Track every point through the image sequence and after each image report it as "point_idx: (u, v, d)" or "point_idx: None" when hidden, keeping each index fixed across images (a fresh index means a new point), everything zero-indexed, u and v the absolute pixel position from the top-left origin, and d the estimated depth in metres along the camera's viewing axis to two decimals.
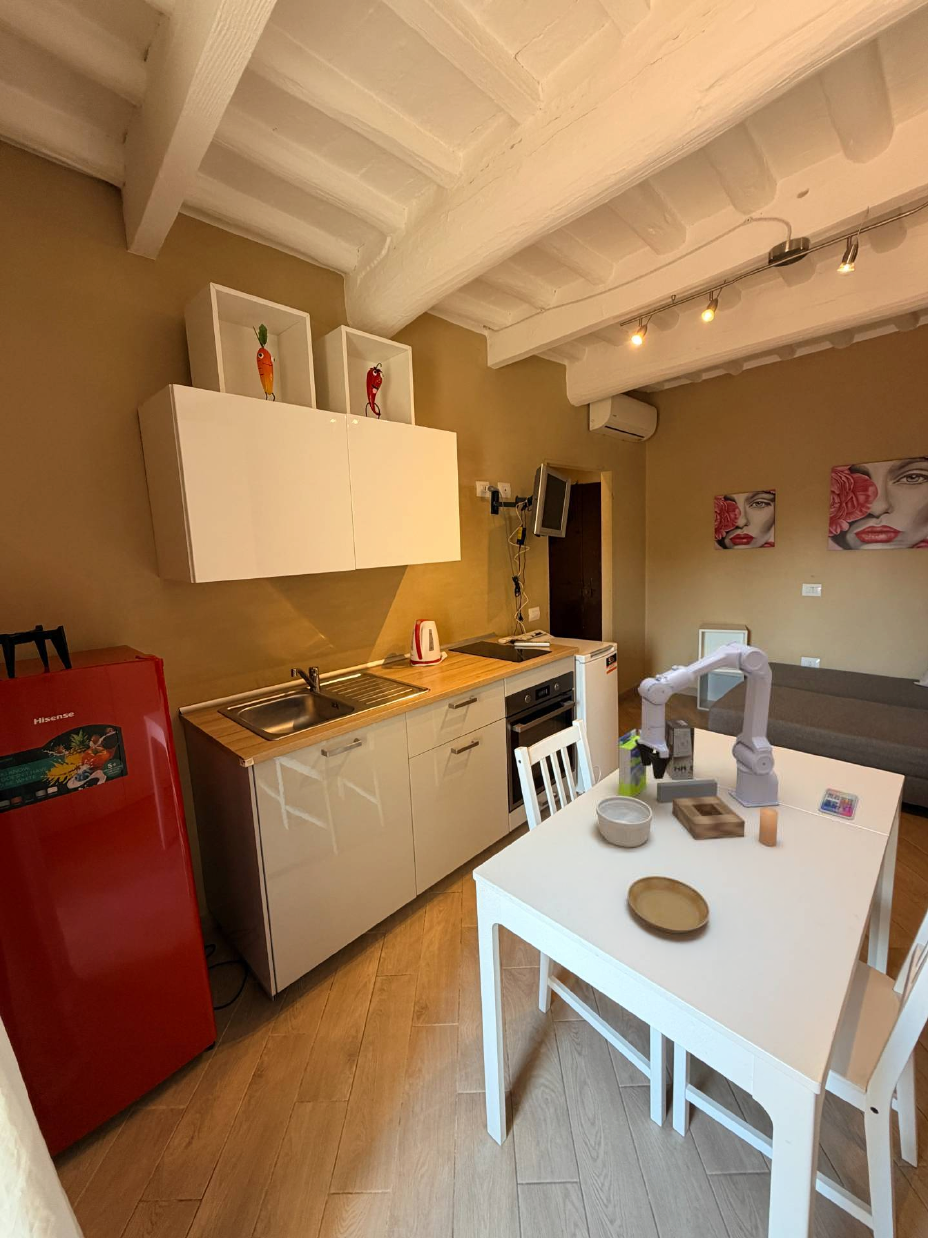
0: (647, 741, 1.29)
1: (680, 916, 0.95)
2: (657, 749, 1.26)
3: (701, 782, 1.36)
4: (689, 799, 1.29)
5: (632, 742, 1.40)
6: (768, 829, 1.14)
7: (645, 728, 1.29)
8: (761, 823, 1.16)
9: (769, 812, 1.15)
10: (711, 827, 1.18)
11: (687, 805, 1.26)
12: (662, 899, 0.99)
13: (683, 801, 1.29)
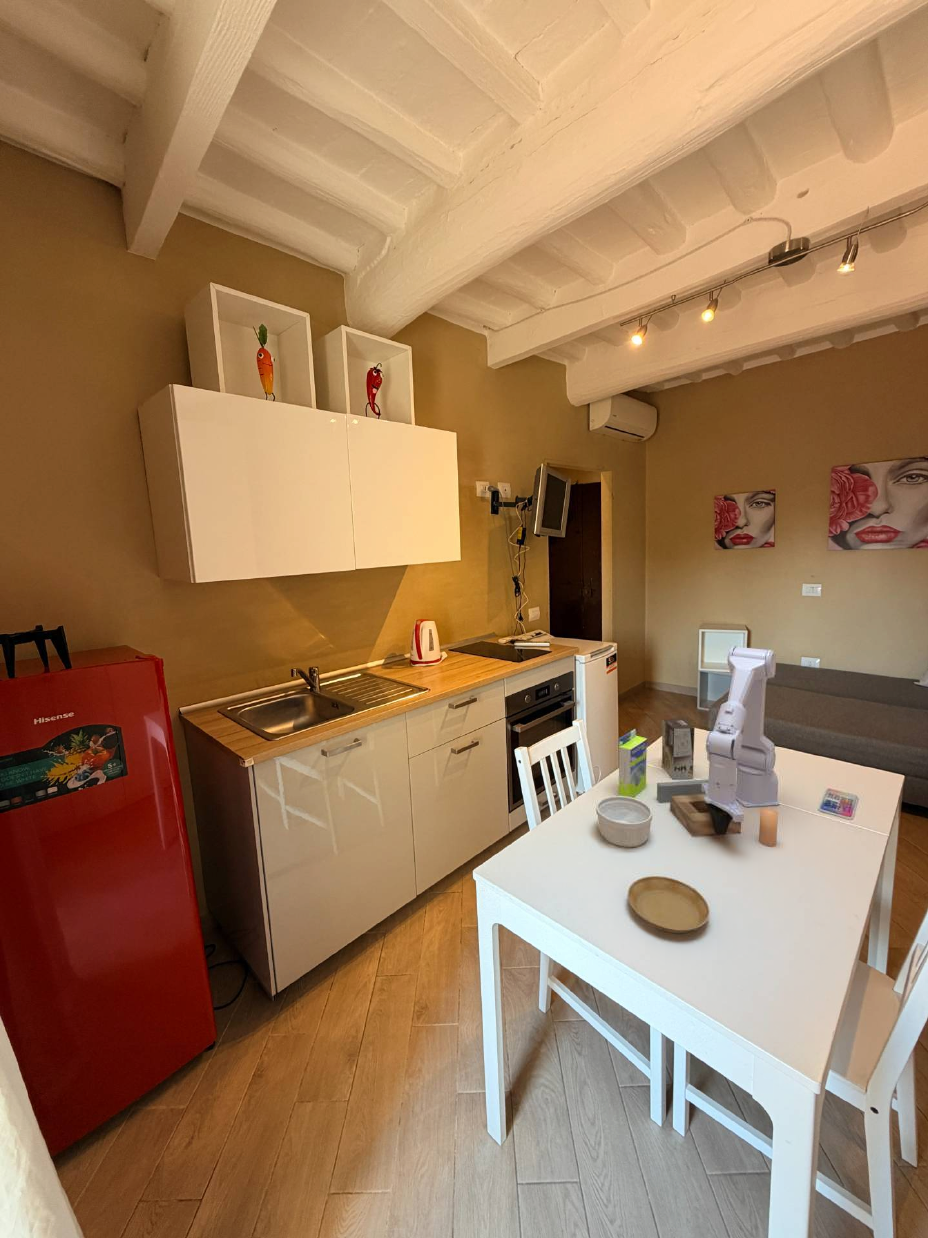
0: (716, 801, 1.15)
1: (680, 916, 0.95)
2: (730, 812, 1.12)
3: (701, 782, 1.36)
4: (686, 796, 1.31)
5: (632, 742, 1.40)
6: (768, 829, 1.14)
7: (714, 786, 1.15)
8: (761, 823, 1.16)
9: (769, 812, 1.15)
10: (707, 823, 1.20)
11: (684, 803, 1.28)
12: (662, 899, 0.99)
13: (680, 798, 1.30)
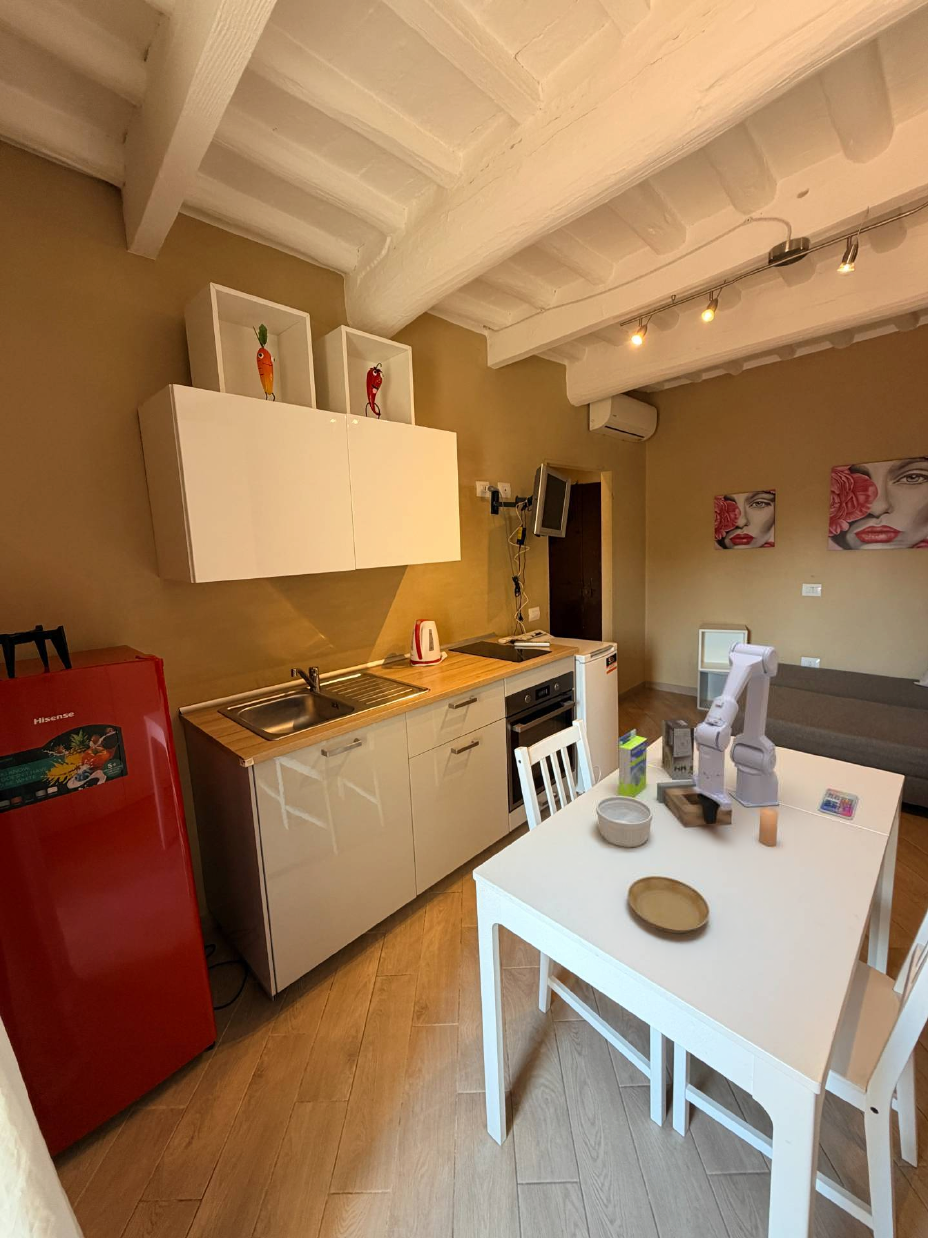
0: (705, 790, 1.20)
1: (680, 916, 0.95)
2: (718, 800, 1.16)
3: None
4: (679, 789, 1.34)
5: (632, 742, 1.40)
6: (768, 829, 1.14)
7: (703, 776, 1.20)
8: (761, 823, 1.16)
9: (769, 812, 1.15)
10: (699, 815, 1.23)
11: (677, 795, 1.31)
12: (662, 899, 0.99)
13: (674, 791, 1.34)
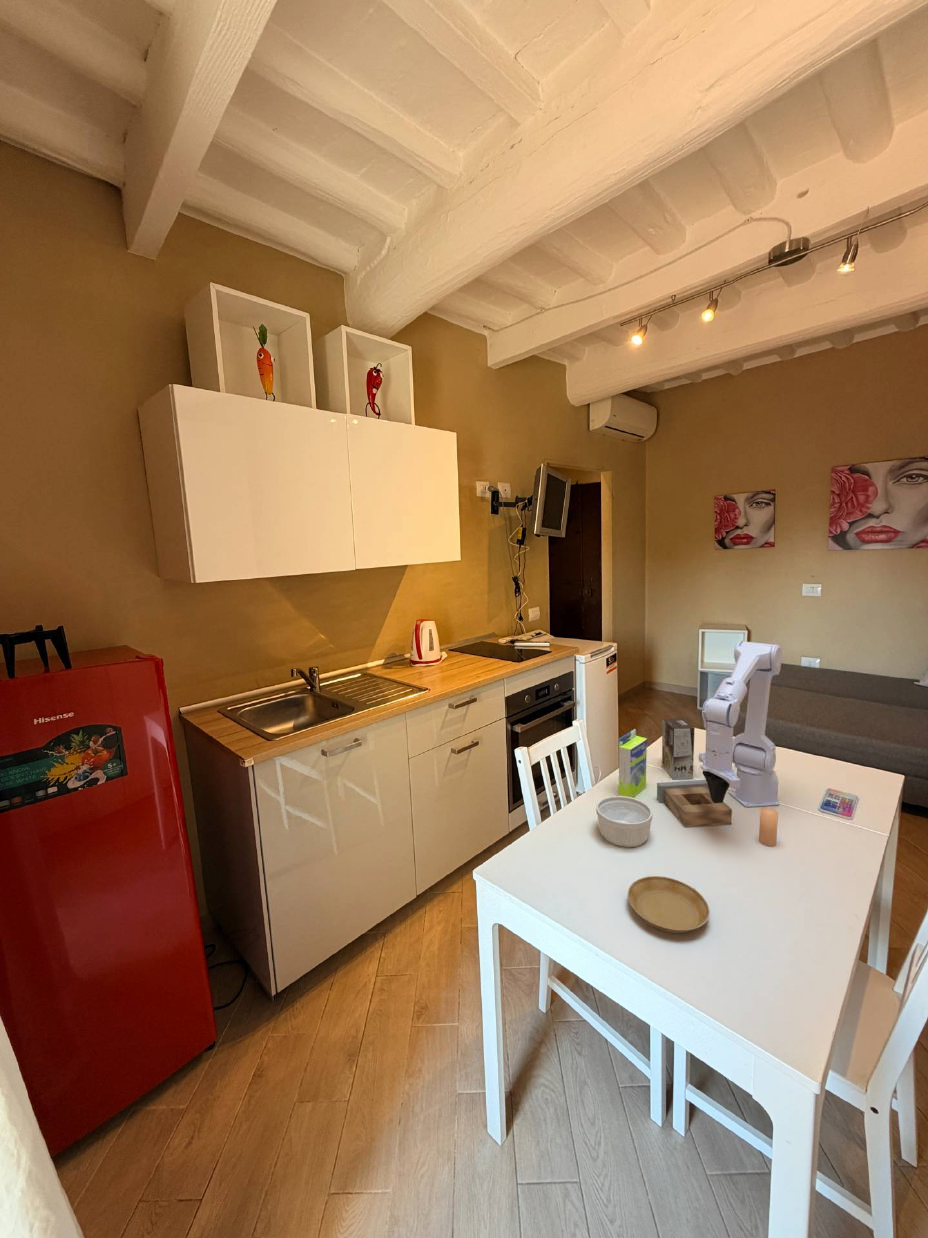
0: (713, 768, 1.16)
1: (680, 916, 0.95)
2: (726, 778, 1.12)
3: (701, 782, 1.36)
4: (679, 789, 1.34)
5: (632, 742, 1.40)
6: (768, 829, 1.14)
7: (711, 754, 1.16)
8: (761, 823, 1.16)
9: (769, 812, 1.15)
10: (699, 815, 1.23)
11: (677, 795, 1.31)
12: (662, 899, 0.99)
13: (674, 791, 1.34)
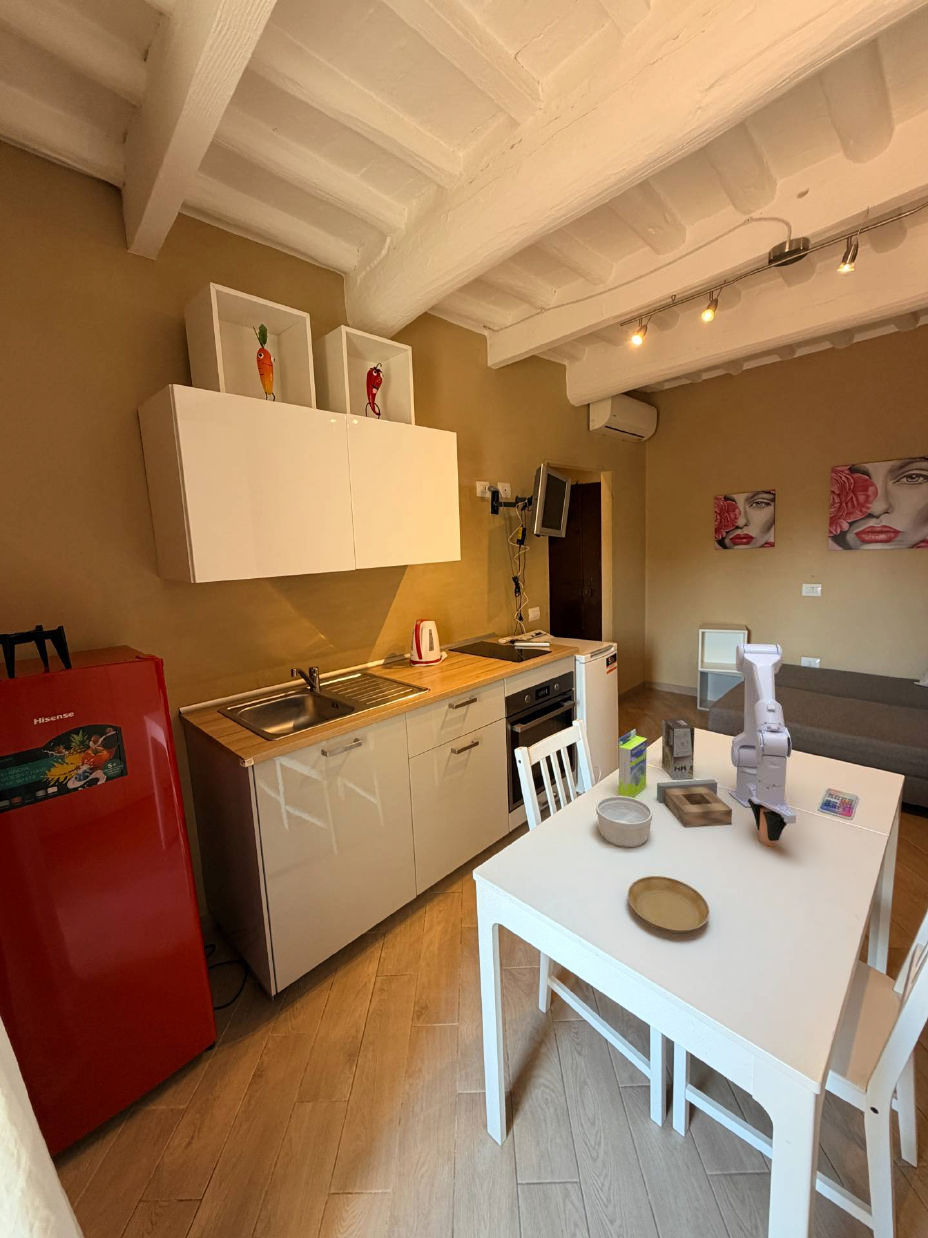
0: (765, 801, 1.13)
1: (680, 916, 0.95)
2: (781, 812, 1.09)
3: (701, 782, 1.36)
4: (679, 789, 1.34)
5: (632, 742, 1.40)
6: None
7: (763, 786, 1.13)
8: (761, 823, 1.16)
9: None
10: (699, 815, 1.23)
11: (677, 795, 1.31)
12: (662, 899, 0.99)
13: (674, 791, 1.34)
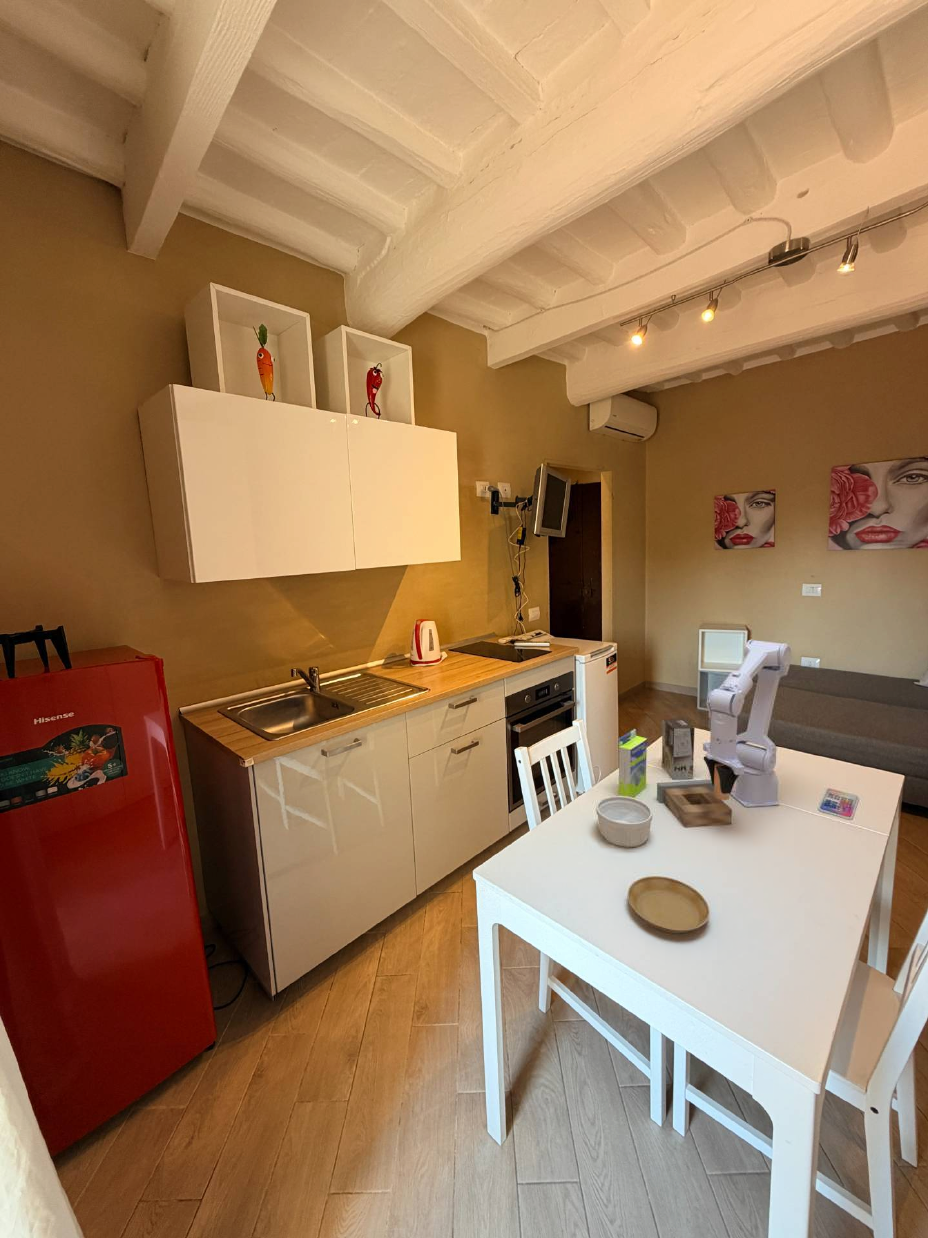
0: (718, 756, 1.20)
1: (680, 916, 0.95)
2: (731, 765, 1.17)
3: (701, 782, 1.36)
4: (679, 789, 1.34)
5: (632, 742, 1.40)
6: None
7: (715, 742, 1.20)
8: (715, 778, 1.23)
9: None
10: (699, 815, 1.23)
11: (677, 795, 1.31)
12: (662, 899, 0.99)
13: (674, 791, 1.34)
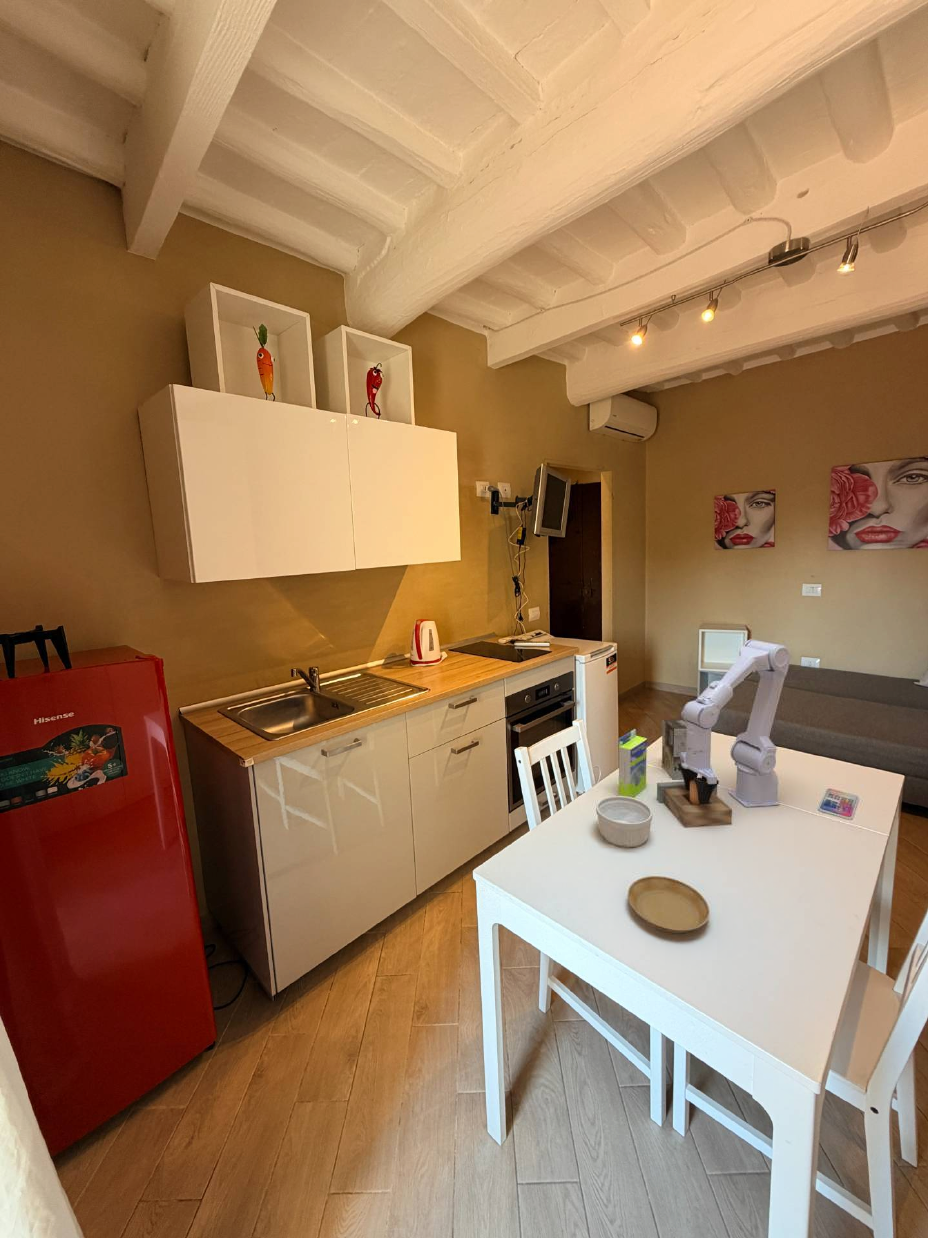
0: (692, 766, 1.26)
1: (680, 916, 0.95)
2: (704, 775, 1.22)
3: None
4: (679, 789, 1.34)
5: (632, 742, 1.40)
6: (695, 799, 1.28)
7: (690, 752, 1.26)
8: (690, 794, 1.29)
9: None
10: (699, 815, 1.23)
11: (677, 795, 1.31)
12: (662, 899, 0.99)
13: (674, 791, 1.34)
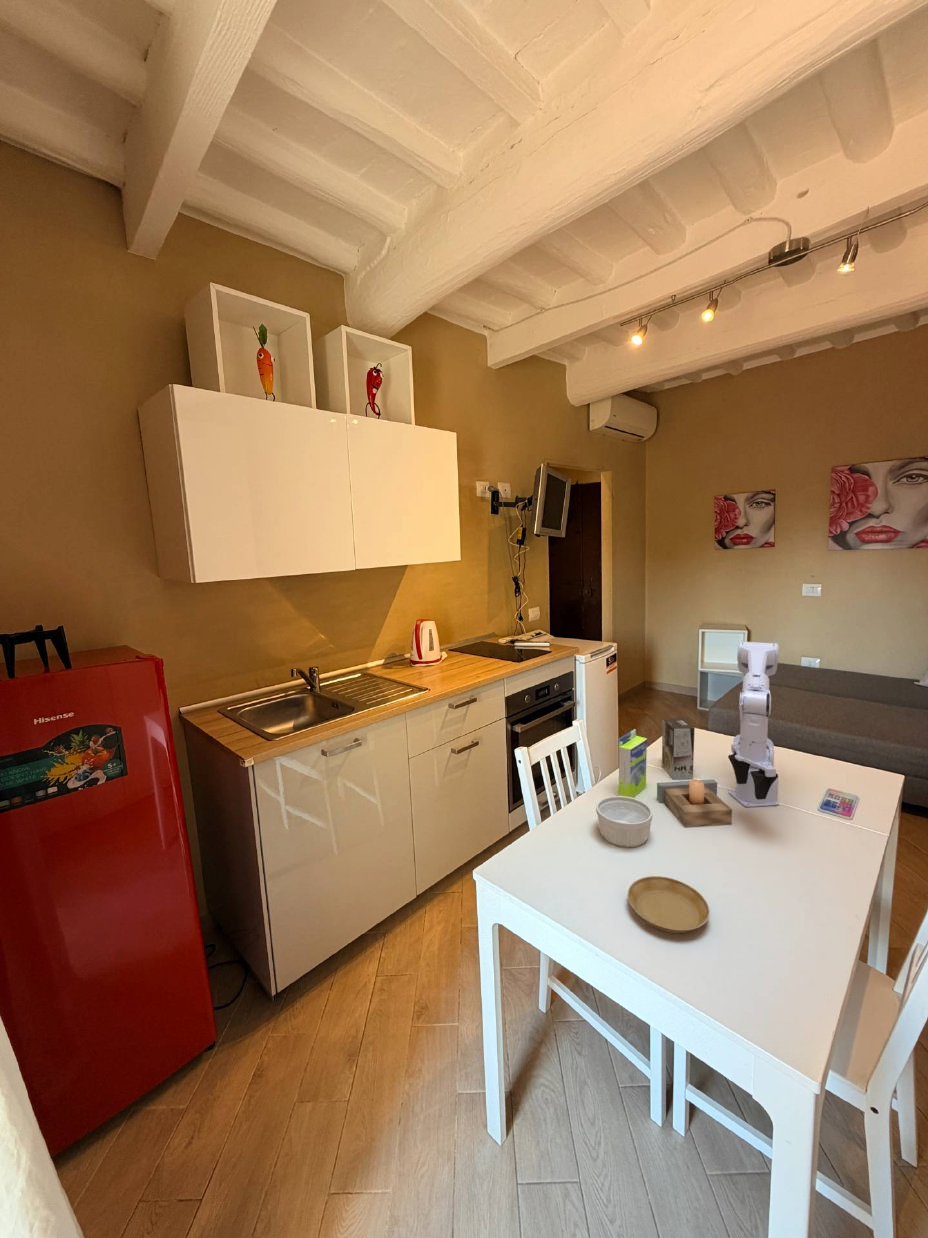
0: (748, 758, 1.19)
1: (680, 916, 0.95)
2: (762, 767, 1.15)
3: None
4: (679, 789, 1.34)
5: (632, 742, 1.40)
6: (694, 798, 1.28)
7: (745, 744, 1.19)
8: (690, 793, 1.29)
9: (696, 783, 1.28)
10: (699, 815, 1.23)
11: (677, 795, 1.31)
12: (662, 899, 0.99)
13: (674, 791, 1.34)
